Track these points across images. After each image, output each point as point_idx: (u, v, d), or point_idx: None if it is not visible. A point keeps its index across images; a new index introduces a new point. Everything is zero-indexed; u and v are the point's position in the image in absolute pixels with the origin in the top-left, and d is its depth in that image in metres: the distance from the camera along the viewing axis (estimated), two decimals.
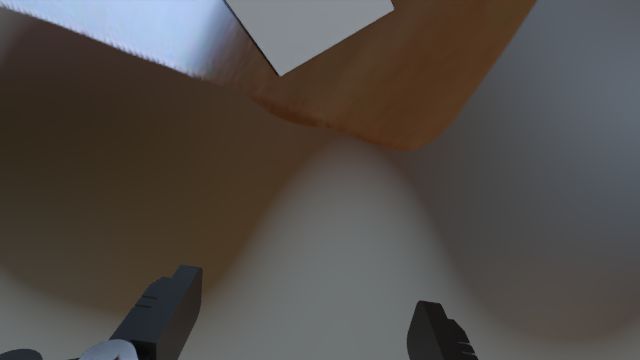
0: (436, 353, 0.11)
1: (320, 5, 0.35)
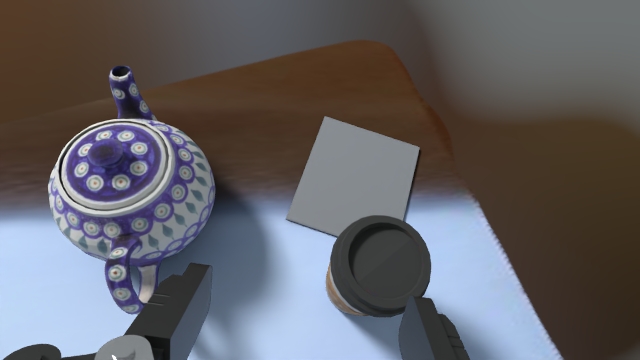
0: (425, 347, 0.11)
1: (358, 153, 0.48)
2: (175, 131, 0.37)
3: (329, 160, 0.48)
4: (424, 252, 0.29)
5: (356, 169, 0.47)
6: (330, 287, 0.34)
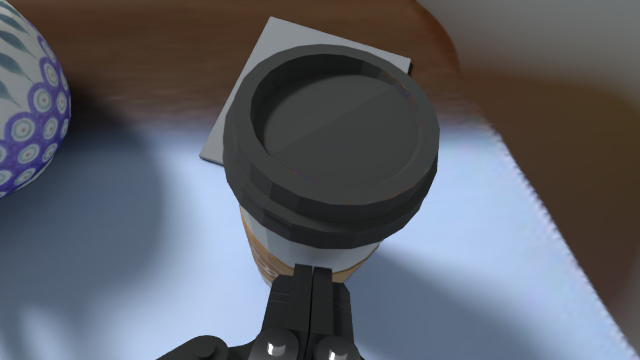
0: (311, 309, 0.12)
1: None
2: None
3: None
4: (422, 105, 0.13)
5: None
6: None
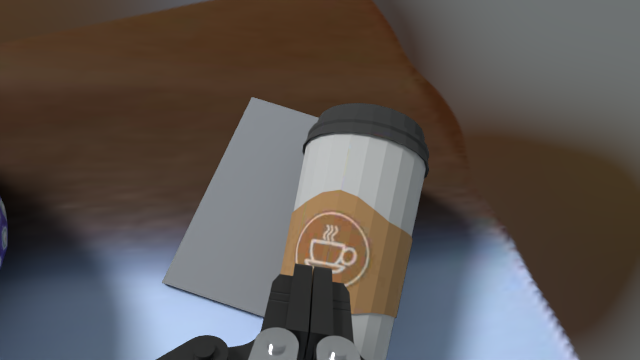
0: (311, 309, 0.12)
1: None
2: None
3: (253, 172, 0.27)
4: None
5: None
6: (313, 223, 0.19)
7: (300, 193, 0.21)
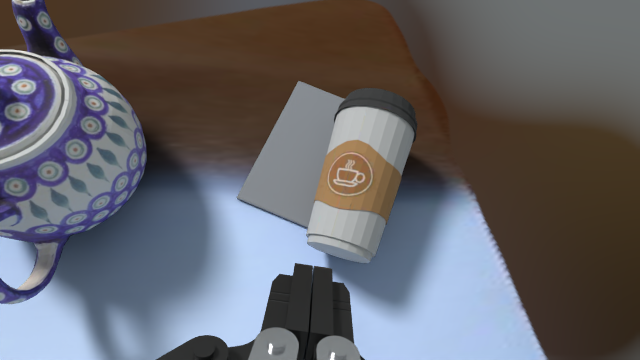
0: (311, 309, 0.12)
1: None
2: (90, 74, 0.29)
3: (298, 132, 0.39)
4: None
5: None
6: (339, 159, 0.31)
7: (332, 143, 0.33)
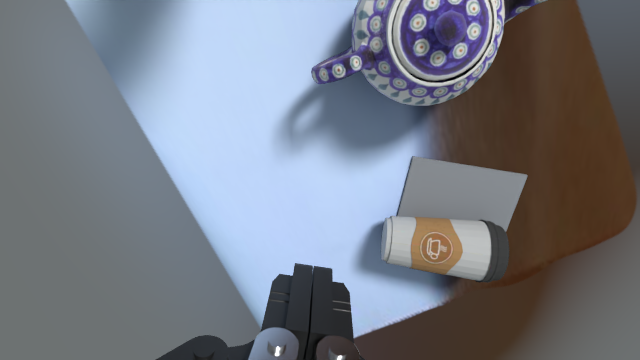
0: (311, 309, 0.12)
1: (484, 210, 0.51)
2: (488, 62, 0.35)
3: (475, 186, 0.49)
4: None
5: (467, 210, 0.51)
6: (447, 240, 0.45)
7: (461, 228, 0.46)
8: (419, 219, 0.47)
